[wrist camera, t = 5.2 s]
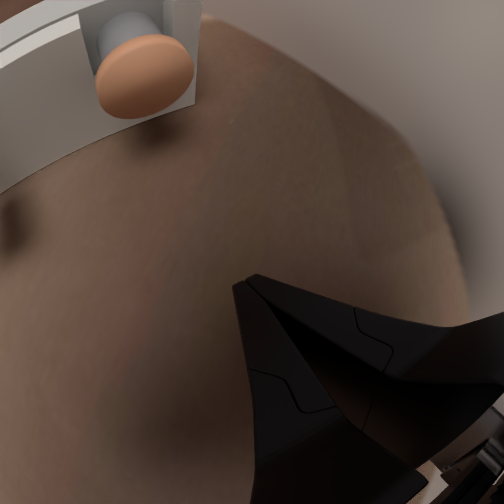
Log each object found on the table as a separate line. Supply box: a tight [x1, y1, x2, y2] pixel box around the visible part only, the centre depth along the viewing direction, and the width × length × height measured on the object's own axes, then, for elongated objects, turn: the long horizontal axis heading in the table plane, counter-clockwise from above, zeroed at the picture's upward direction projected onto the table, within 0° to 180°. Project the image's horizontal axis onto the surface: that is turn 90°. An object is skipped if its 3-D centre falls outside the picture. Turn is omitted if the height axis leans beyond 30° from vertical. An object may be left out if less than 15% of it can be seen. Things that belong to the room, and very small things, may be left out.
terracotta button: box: [95, 11, 194, 119], centre depth 12 cm, size 5×5×5 cm
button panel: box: [0, 0, 203, 194], centre depth 13 cm, size 7×20×10 cm, turn 117°
